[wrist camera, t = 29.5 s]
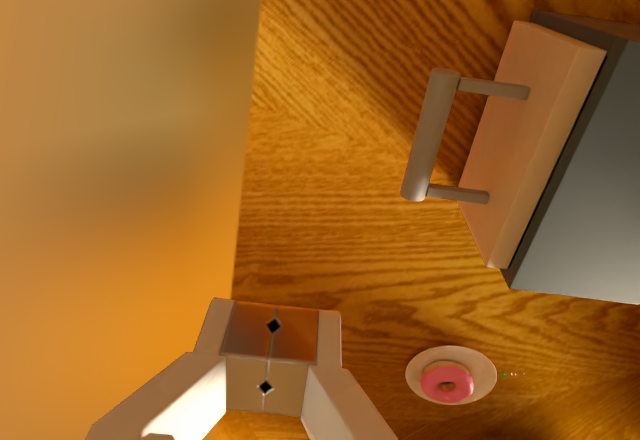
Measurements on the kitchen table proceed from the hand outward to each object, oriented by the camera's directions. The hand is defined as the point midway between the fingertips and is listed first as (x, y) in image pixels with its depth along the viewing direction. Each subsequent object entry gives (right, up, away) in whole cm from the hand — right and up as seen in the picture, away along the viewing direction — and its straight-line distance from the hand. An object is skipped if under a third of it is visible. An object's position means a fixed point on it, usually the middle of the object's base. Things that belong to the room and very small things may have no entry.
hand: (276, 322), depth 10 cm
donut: (+15, -11, +31) cm, 36 cm away
